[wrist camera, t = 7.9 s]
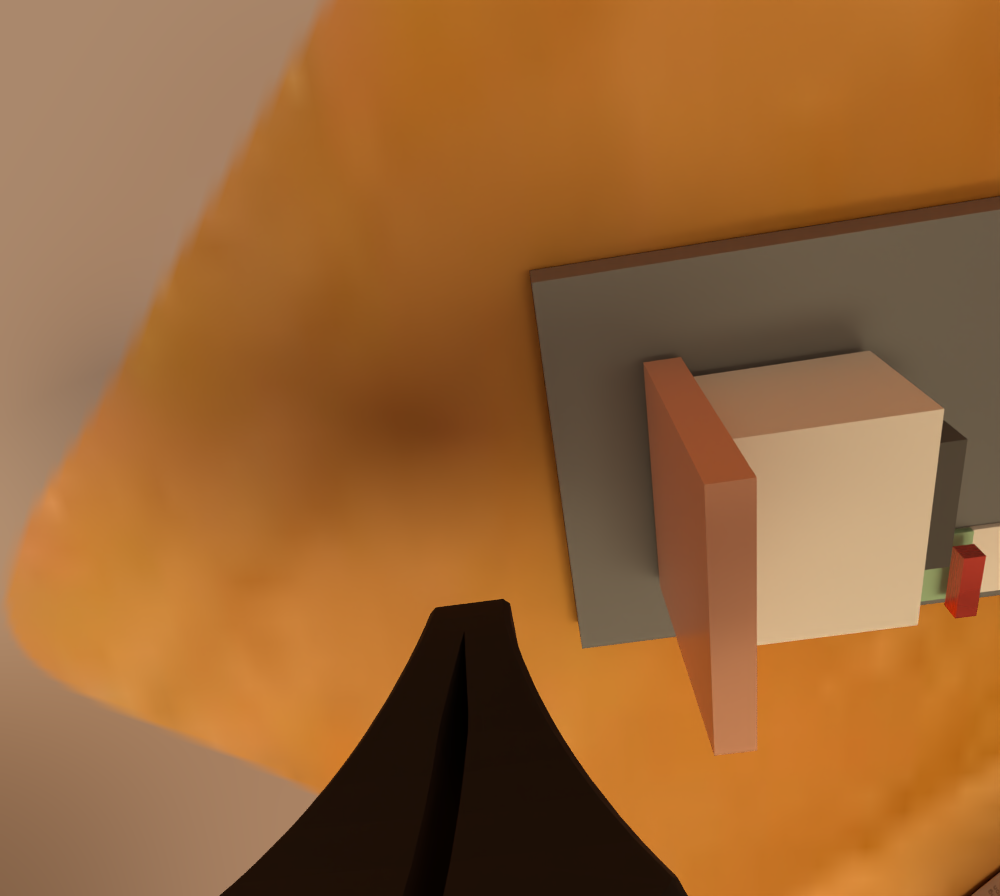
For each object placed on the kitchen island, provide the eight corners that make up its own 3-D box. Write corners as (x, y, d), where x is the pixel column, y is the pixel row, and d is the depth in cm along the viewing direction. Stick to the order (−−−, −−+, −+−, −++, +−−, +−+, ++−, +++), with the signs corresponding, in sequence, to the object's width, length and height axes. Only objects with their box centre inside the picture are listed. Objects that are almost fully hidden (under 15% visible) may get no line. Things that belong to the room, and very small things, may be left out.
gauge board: (1323, 145, 16) (1749, 192, 10) (1195, 543, 20) (1447, 717, 15) (529, 270, 17) (549, 372, 11) (578, 623, 21) (608, 814, 16)
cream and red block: (910, 322, 16) (1080, 431, 11) (883, 602, 19) (1006, 774, 15) (643, 362, 16) (704, 484, 12) (663, 631, 20) (716, 808, 15)
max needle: (974, 543, 18) (986, 556, 18) (964, 602, 19) (975, 615, 19) (952, 546, 18) (964, 558, 18) (944, 605, 19) (955, 618, 19)
